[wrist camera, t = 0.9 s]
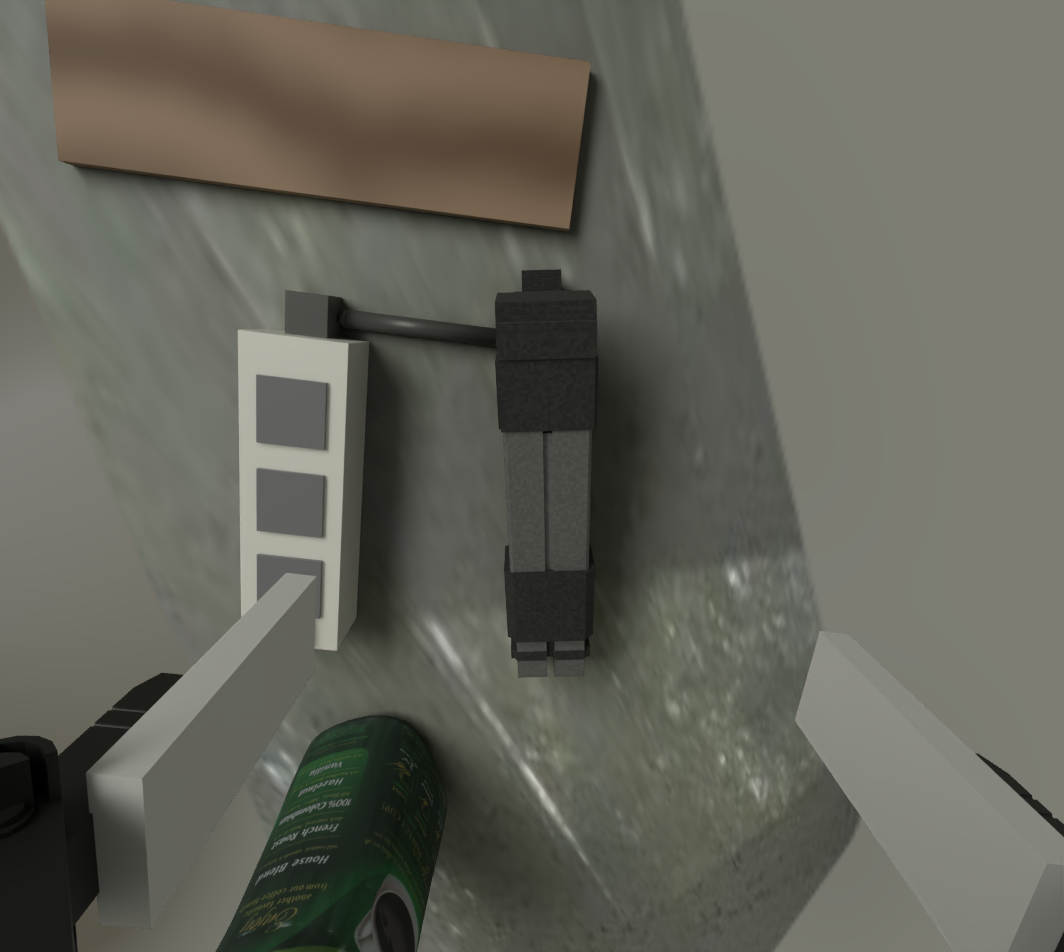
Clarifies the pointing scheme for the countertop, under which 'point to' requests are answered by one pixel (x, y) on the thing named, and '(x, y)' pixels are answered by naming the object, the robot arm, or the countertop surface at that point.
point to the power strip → (311, 449)
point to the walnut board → (316, 109)
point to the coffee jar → (348, 847)
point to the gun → (547, 468)
